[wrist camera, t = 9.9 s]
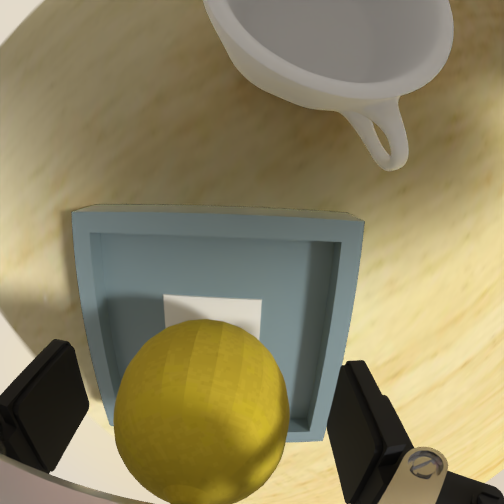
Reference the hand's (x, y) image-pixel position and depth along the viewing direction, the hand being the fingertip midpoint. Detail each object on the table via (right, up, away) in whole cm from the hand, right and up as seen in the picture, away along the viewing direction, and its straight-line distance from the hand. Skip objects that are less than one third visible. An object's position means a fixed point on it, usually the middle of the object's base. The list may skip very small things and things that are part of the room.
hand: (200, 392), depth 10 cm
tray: (0, +1, +5) cm, 5 cm away
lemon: (0, +1, +4) cm, 4 cm away
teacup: (+5, +13, +2) cm, 14 cm away
